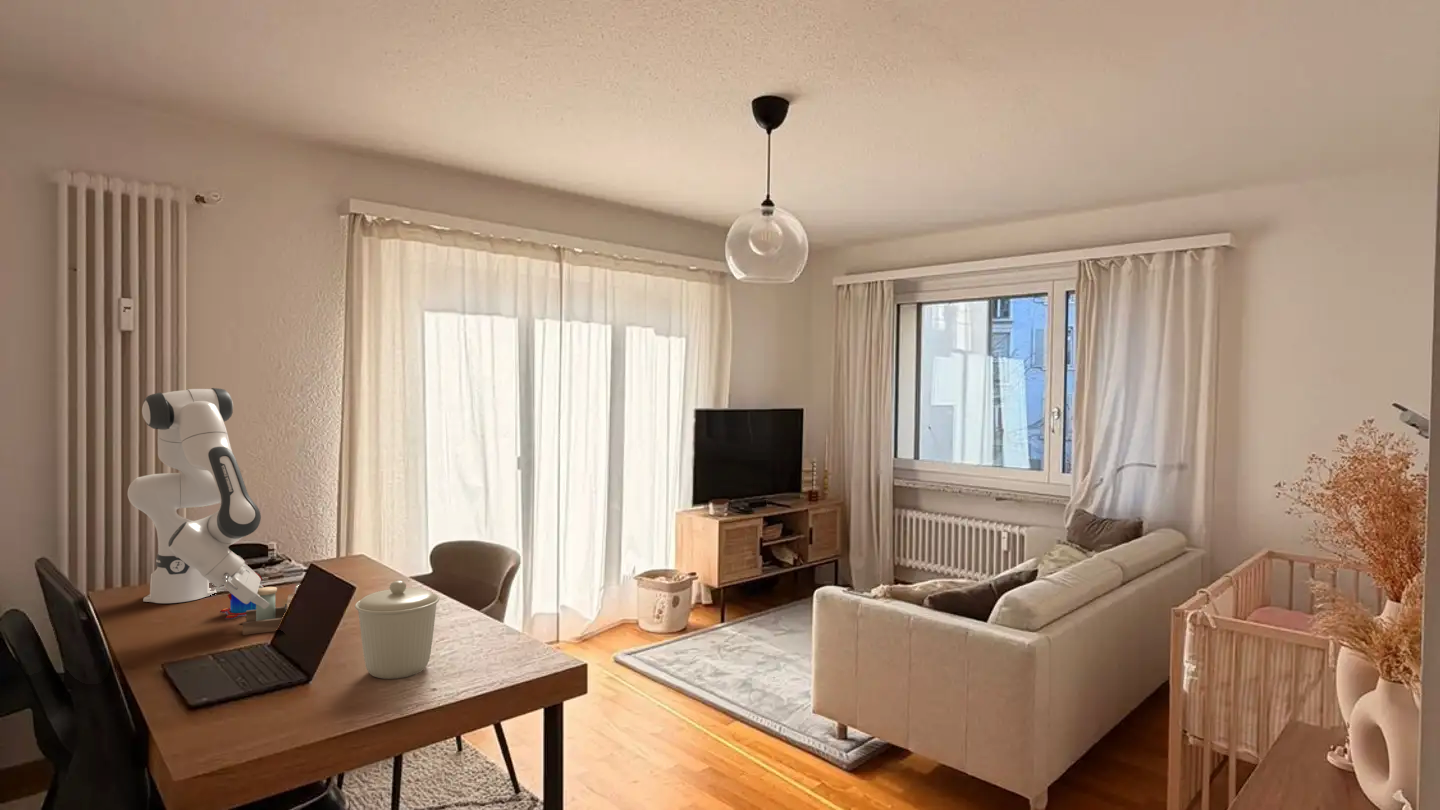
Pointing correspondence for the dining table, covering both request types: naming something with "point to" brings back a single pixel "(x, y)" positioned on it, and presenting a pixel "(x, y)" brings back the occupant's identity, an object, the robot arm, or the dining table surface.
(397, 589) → the canister
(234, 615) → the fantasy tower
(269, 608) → the grey-green capped cylinder
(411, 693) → the dining table surface
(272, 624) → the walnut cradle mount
